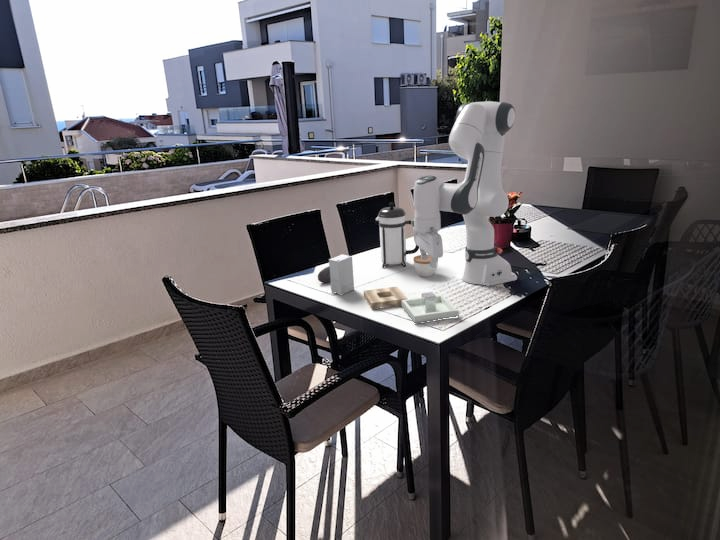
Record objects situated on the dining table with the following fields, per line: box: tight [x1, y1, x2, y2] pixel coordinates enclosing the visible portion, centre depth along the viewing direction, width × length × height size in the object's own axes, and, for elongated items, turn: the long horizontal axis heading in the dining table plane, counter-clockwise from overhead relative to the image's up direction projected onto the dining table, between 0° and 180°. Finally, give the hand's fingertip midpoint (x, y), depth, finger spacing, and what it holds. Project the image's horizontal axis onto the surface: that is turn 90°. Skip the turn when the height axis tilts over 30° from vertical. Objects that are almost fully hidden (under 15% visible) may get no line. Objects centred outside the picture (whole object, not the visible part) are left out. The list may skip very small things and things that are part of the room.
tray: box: [401, 294, 460, 324], centre depth 177 cm, size 16×16×3 cm
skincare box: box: [328, 253, 355, 295], centre depth 201 cm, size 8×6×15 cm
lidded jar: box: [413, 254, 439, 278], centre depth 217 cm, size 11×11×9 cm
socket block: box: [363, 286, 409, 310], centre depth 191 cm, size 14×14×2 cm
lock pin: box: [421, 291, 436, 313], centre depth 176 cm, size 4×4×6 cm
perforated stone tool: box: [317, 265, 331, 283], centre depth 217 cm, size 15×5×7 cm, turn 127°
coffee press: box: [375, 201, 420, 269], centre depth 231 cm, size 17×16×30 cm
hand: (428, 263), depth 172 cm, fingers open, 8 cm apart
